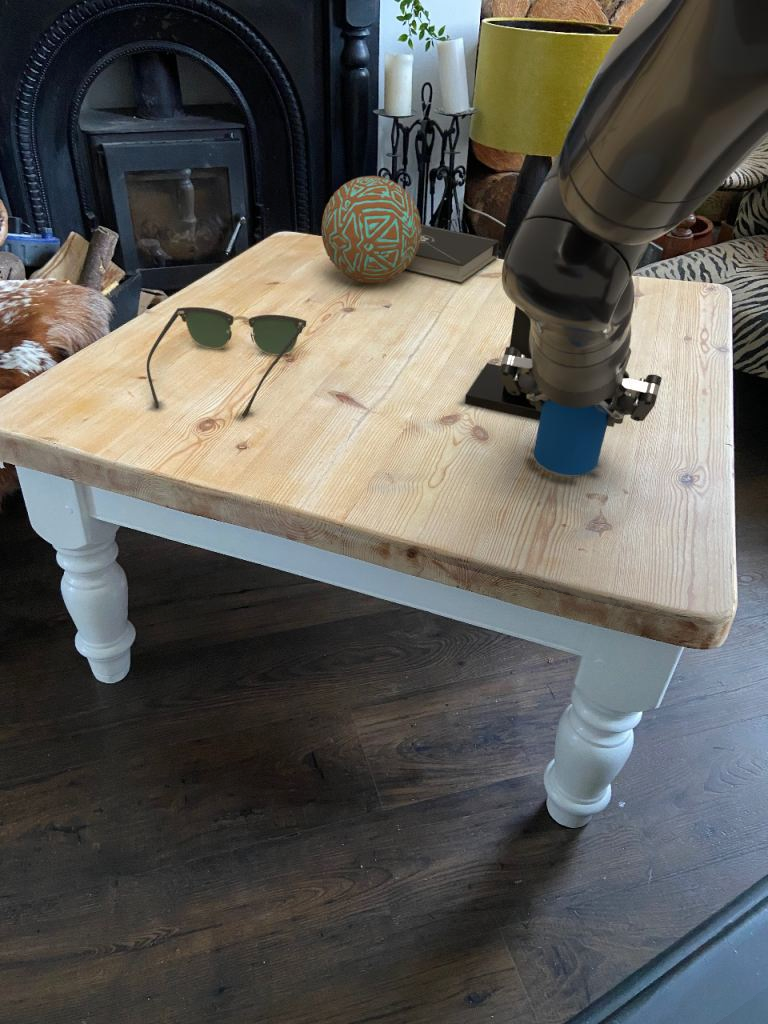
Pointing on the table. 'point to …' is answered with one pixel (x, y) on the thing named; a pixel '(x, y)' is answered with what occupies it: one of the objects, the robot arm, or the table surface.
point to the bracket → (490, 385)
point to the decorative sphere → (371, 229)
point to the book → (452, 254)
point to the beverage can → (569, 439)
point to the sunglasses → (216, 332)
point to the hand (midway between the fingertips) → (576, 409)
